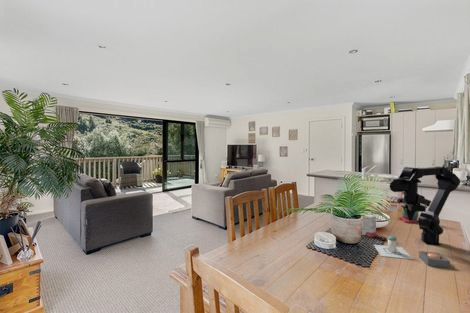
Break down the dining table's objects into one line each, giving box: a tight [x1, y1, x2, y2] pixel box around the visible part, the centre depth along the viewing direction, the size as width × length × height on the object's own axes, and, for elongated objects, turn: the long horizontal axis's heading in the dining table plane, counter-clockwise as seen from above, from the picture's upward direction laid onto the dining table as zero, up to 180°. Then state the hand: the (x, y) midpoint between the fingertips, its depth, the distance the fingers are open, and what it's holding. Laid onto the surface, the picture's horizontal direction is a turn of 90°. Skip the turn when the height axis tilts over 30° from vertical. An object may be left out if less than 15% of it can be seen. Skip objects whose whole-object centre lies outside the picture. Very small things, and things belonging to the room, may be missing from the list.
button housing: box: [418, 250, 451, 269], centre depth 105 cm, size 8×8×3 cm
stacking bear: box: [397, 207, 420, 224], centre depth 162 cm, size 11×10×18 cm
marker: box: [387, 235, 398, 253], centre depth 115 cm, size 4×4×7 cm
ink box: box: [361, 214, 377, 238], centre depth 138 cm, size 9×5×12 cm, turn 33°
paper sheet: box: [373, 244, 415, 260], centre depth 115 cm, size 13×13×1 cm
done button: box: [427, 252, 440, 259], centre depth 105 cm, size 4×4×2 cm
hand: (410, 220), depth 123 cm, fingers closed
